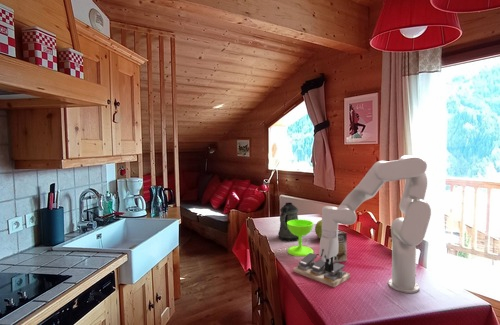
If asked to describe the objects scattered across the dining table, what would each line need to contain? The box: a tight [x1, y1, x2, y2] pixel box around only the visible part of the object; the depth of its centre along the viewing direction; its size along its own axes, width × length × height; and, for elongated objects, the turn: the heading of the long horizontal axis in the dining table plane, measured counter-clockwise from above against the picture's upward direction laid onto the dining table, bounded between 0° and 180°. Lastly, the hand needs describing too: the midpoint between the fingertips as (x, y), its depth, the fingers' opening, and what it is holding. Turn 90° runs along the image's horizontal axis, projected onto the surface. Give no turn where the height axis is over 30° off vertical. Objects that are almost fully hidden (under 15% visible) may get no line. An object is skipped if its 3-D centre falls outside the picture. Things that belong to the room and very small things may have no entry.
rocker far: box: [298, 253, 318, 267], centre depth 154 cm, size 10×4×1 cm, turn 132°
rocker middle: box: [311, 257, 325, 272], centre depth 148 cm, size 10×4×1 cm, turn 132°
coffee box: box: [333, 229, 348, 264], centre depth 166 cm, size 9×6×16 cm
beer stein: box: [277, 202, 299, 242], centre depth 206 cm, size 16×19×25 cm
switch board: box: [293, 260, 351, 288], centre depth 148 cm, size 14×24×5 cm, turn 42°
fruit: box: [314, 219, 322, 239], centre depth 202 cm, size 16×14×15 cm
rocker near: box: [325, 262, 346, 275], centre depth 142 cm, size 10×4×1 cm, turn 132°
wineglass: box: [286, 219, 315, 257], centre depth 180 cm, size 16×16×18 cm
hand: (329, 270), depth 139 cm, fingers closed
